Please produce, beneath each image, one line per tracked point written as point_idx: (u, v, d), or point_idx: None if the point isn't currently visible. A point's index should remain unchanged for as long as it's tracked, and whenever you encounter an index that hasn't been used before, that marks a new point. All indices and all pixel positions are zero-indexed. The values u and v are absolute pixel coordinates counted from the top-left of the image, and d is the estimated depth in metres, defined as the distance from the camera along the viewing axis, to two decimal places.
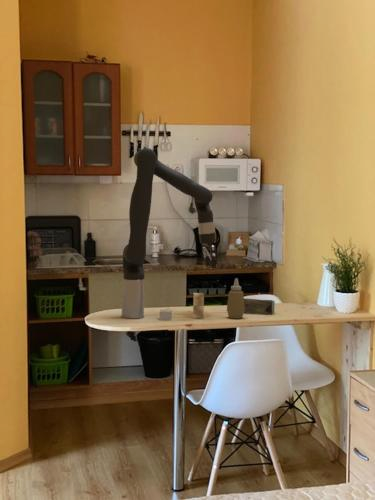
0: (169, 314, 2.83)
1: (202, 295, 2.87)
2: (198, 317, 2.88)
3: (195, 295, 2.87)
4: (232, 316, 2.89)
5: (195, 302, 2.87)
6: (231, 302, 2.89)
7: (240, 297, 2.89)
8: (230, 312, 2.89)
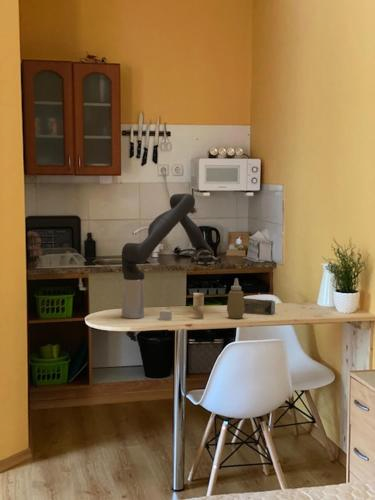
0: (169, 314, 2.83)
1: (202, 295, 2.87)
2: (198, 317, 2.88)
3: (195, 295, 2.87)
4: (232, 316, 2.89)
5: (195, 302, 2.87)
6: (231, 302, 2.89)
7: (240, 297, 2.89)
8: (230, 312, 2.89)
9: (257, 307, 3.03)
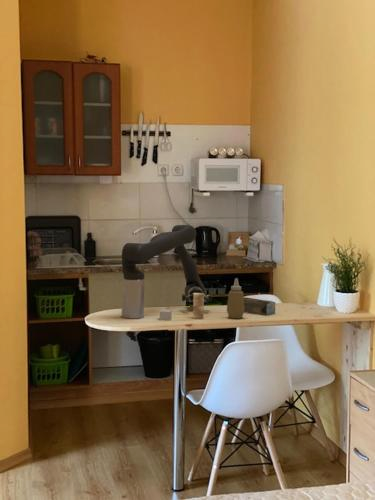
0: (169, 314, 2.83)
1: (202, 295, 2.87)
2: (198, 317, 2.88)
3: (195, 295, 2.87)
4: (232, 316, 2.89)
5: (195, 302, 2.87)
6: (231, 302, 2.89)
7: (240, 297, 2.89)
8: (230, 312, 2.89)
9: (254, 307, 3.03)
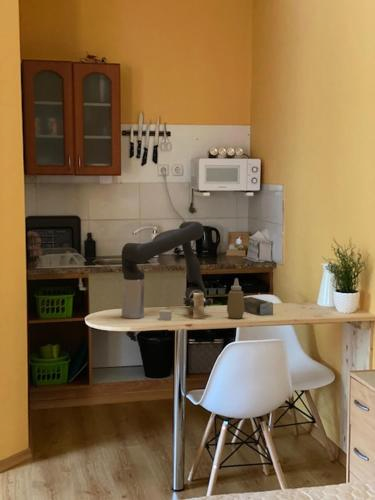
0: (169, 314, 2.83)
1: (202, 295, 2.87)
2: (198, 317, 2.88)
3: (195, 295, 2.87)
4: (232, 316, 2.89)
5: (195, 302, 2.87)
6: (231, 302, 2.89)
7: (240, 297, 2.89)
8: (230, 312, 2.89)
9: (251, 307, 3.04)
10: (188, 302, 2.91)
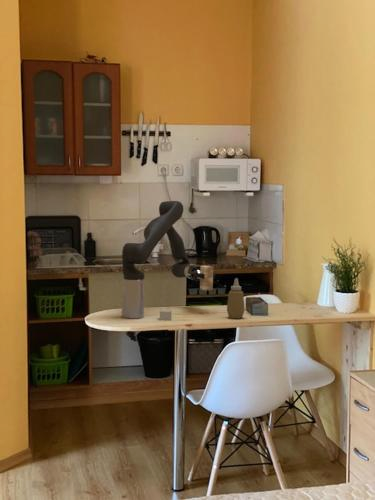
0: (169, 314, 2.83)
1: (211, 267, 3.00)
2: (208, 288, 3.00)
3: (205, 267, 2.99)
4: (232, 316, 2.89)
5: (205, 274, 2.99)
6: (231, 302, 2.89)
7: (240, 297, 2.89)
8: (230, 312, 2.89)
9: (249, 306, 3.05)
10: (196, 275, 3.01)
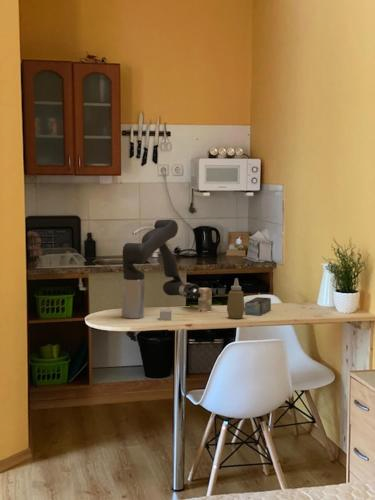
0: (169, 314, 2.83)
1: (210, 289, 3.07)
2: (207, 310, 3.07)
3: (205, 290, 3.05)
4: (232, 316, 2.89)
5: (205, 296, 3.05)
6: (231, 302, 2.89)
7: (240, 297, 2.89)
8: (230, 312, 2.89)
9: None
10: (191, 294, 3.07)
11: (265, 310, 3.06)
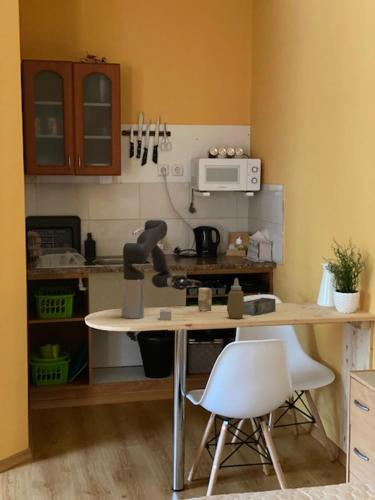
0: (169, 314, 2.83)
1: (210, 289, 3.07)
2: (207, 310, 3.07)
3: (205, 290, 3.05)
4: (232, 316, 2.89)
5: (205, 296, 3.05)
6: (231, 302, 2.89)
7: (240, 297, 2.89)
8: (230, 312, 2.89)
9: None
10: (178, 284, 3.16)
11: (265, 310, 3.05)
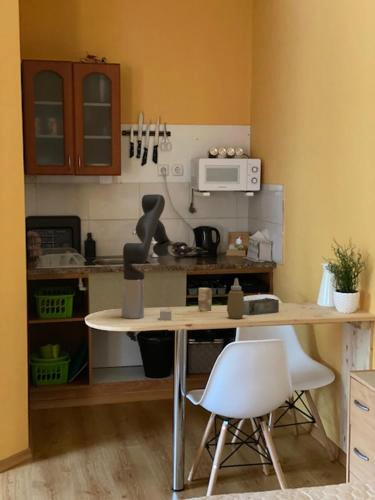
0: (170, 314, 2.83)
1: (210, 289, 3.07)
2: (207, 310, 3.07)
3: (205, 290, 3.05)
4: (232, 316, 2.89)
5: (205, 296, 3.05)
6: (231, 302, 2.89)
7: (240, 297, 2.89)
8: (230, 312, 2.89)
9: None
10: (178, 250, 3.15)
11: (264, 311, 3.04)
